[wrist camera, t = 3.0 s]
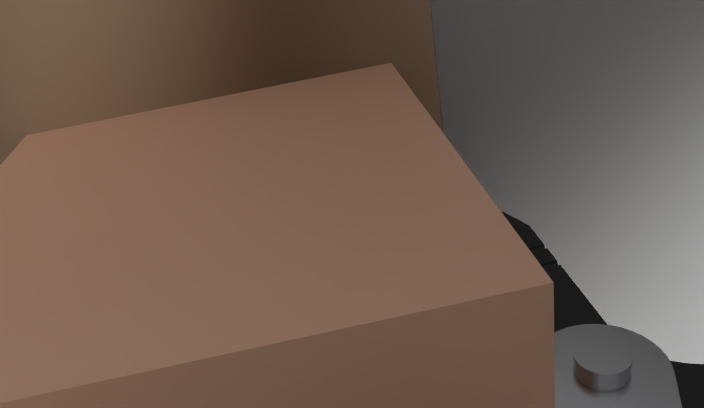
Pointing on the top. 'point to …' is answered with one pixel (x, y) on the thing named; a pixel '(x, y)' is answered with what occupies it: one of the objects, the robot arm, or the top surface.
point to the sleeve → (266, 260)
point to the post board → (192, 53)
